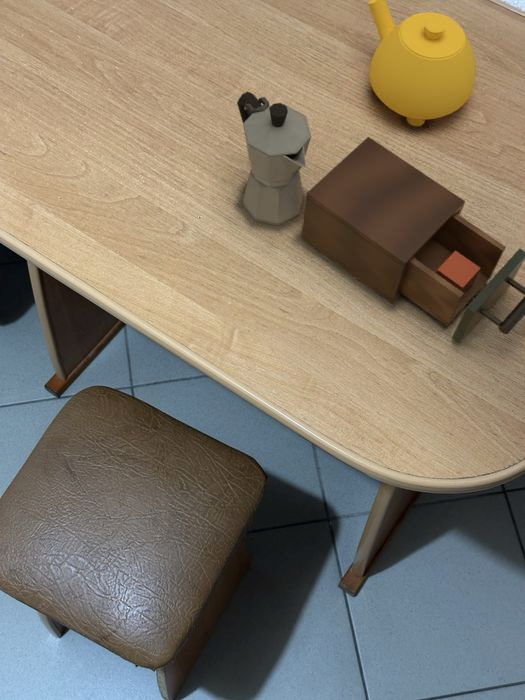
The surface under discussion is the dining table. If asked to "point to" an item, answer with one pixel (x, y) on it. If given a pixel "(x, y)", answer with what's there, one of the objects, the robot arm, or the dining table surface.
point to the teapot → (421, 64)
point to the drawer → (450, 300)
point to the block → (459, 271)
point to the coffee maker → (273, 158)
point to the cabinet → (376, 215)
